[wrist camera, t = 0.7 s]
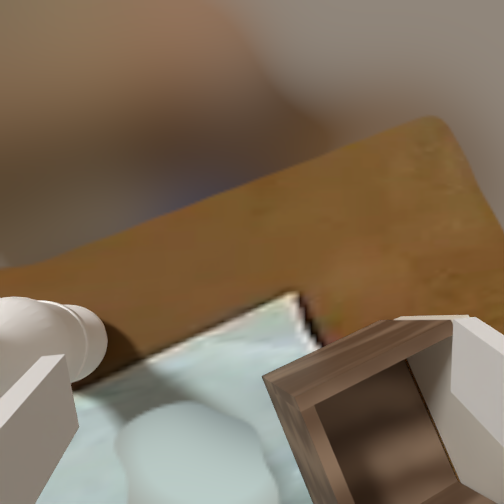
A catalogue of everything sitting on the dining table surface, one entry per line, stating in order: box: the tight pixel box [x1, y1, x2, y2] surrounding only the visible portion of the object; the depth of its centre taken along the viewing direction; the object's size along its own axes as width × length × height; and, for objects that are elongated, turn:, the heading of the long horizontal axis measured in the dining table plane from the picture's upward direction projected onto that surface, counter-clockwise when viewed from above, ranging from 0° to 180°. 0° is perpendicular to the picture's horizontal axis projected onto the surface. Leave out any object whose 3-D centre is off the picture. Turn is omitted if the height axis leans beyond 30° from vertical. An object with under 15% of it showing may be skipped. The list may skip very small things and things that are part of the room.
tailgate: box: [394, 315, 504, 504], centre depth 40 cm, size 19×2×11 cm, turn 23°
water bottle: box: [0, 297, 108, 398], centre depth 29 cm, size 7×7×25 cm
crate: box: [262, 320, 497, 504], centre depth 39 cm, size 20×15×12 cm
